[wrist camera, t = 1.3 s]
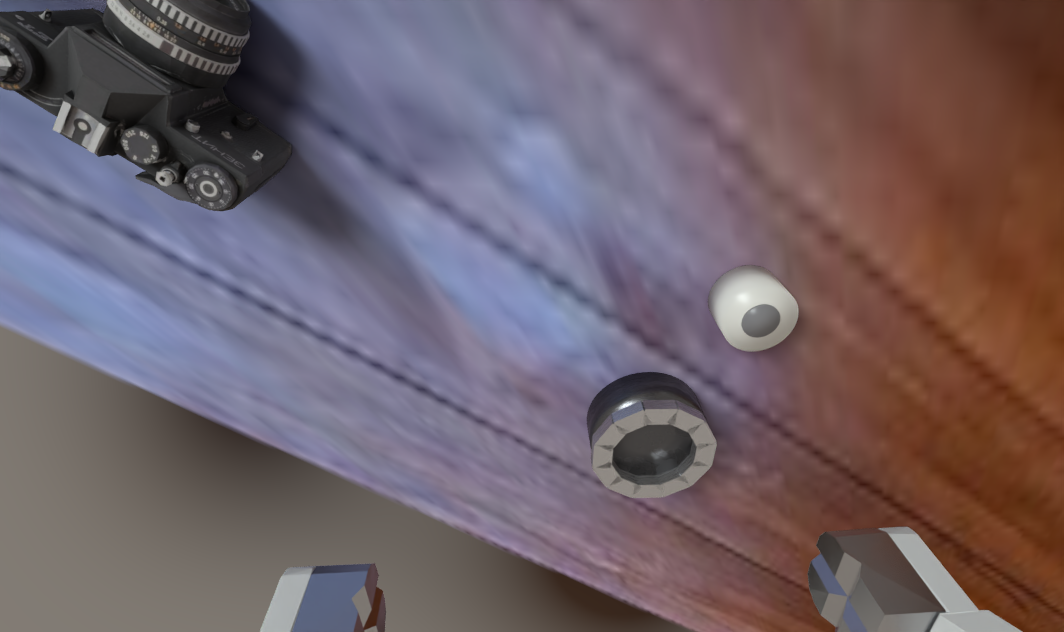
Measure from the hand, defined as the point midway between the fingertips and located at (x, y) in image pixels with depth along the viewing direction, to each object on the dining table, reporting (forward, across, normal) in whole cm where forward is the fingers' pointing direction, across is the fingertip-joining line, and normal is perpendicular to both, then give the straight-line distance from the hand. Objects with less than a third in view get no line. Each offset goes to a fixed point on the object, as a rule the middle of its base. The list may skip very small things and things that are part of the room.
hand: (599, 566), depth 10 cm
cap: (+34, -18, +13) cm, 41 cm away
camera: (+35, +21, -7) cm, 42 cm away
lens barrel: (+35, -11, +26) cm, 45 cm away
